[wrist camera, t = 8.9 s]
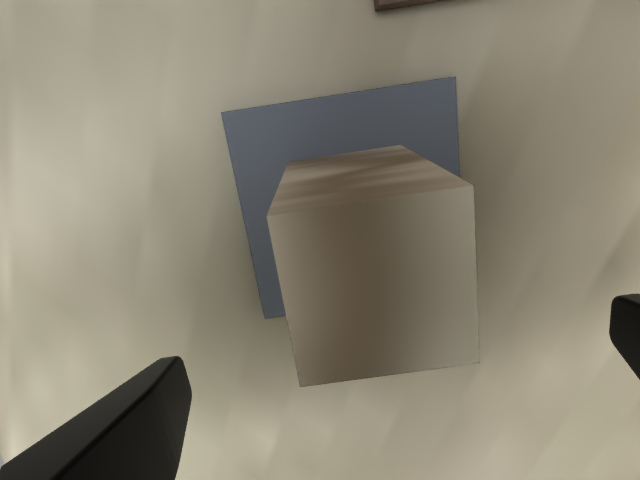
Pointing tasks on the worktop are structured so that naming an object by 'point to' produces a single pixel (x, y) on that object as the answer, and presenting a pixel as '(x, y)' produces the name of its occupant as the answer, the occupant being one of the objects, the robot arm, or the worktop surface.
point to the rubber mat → (330, 148)
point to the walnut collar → (397, 3)
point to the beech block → (375, 265)
